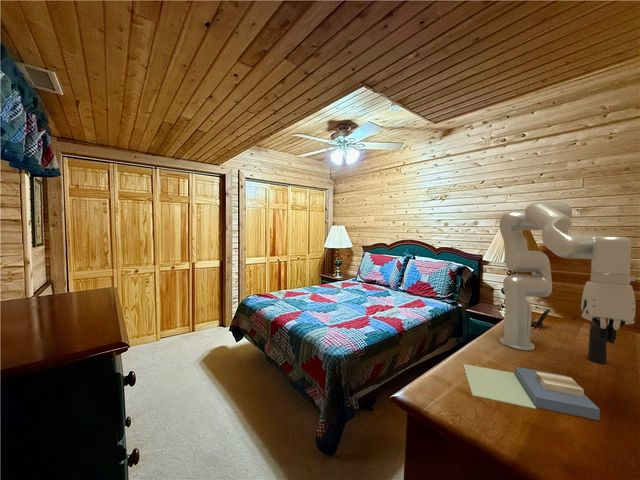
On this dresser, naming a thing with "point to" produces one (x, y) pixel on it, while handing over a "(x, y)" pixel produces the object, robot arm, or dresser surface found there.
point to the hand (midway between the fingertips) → (605, 341)
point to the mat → (497, 386)
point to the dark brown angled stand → (540, 320)
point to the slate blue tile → (555, 396)
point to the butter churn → (596, 347)
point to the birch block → (559, 384)
